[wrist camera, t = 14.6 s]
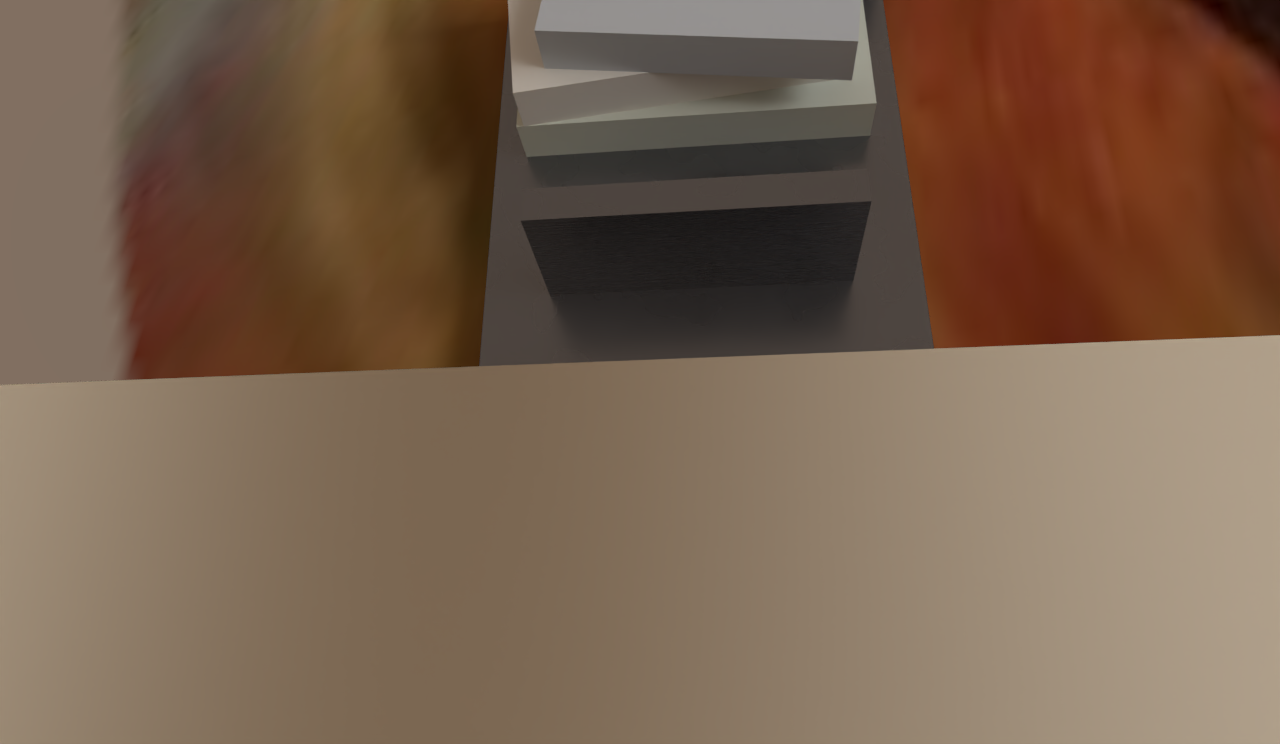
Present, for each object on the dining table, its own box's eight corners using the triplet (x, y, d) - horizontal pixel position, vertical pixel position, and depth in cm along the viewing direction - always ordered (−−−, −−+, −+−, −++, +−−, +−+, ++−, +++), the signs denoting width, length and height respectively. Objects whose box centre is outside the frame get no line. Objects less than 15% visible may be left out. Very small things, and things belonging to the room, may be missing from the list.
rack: (870, -10, 33) (894, -151, 28) (1014, 1017, 20) (1105, 1097, 15) (520, 17, 34) (482, -114, 29) (445, 1002, 21) (353, 1072, 16)
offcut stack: (849, -27, 31) (866, -148, 27) (871, 145, 28) (893, 38, 24) (526, -2, 32) (495, -115, 28) (514, 167, 29) (477, 68, 25)
